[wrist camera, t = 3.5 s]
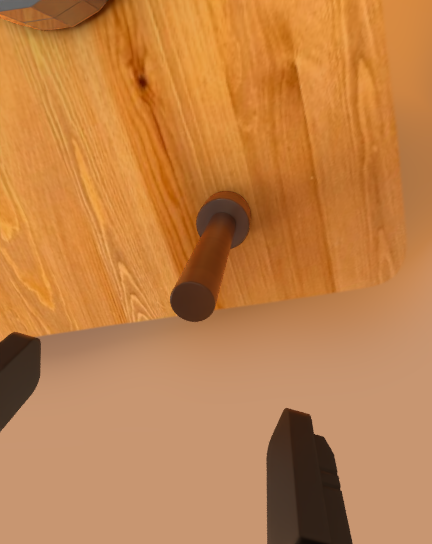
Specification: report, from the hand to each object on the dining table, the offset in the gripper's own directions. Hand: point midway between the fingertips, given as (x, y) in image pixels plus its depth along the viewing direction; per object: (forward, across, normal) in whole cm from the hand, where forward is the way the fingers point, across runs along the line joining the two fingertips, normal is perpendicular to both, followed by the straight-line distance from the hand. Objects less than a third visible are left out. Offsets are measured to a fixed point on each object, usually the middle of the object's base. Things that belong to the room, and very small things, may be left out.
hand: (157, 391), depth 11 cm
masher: (+22, 0, 0) cm, 22 cm away
